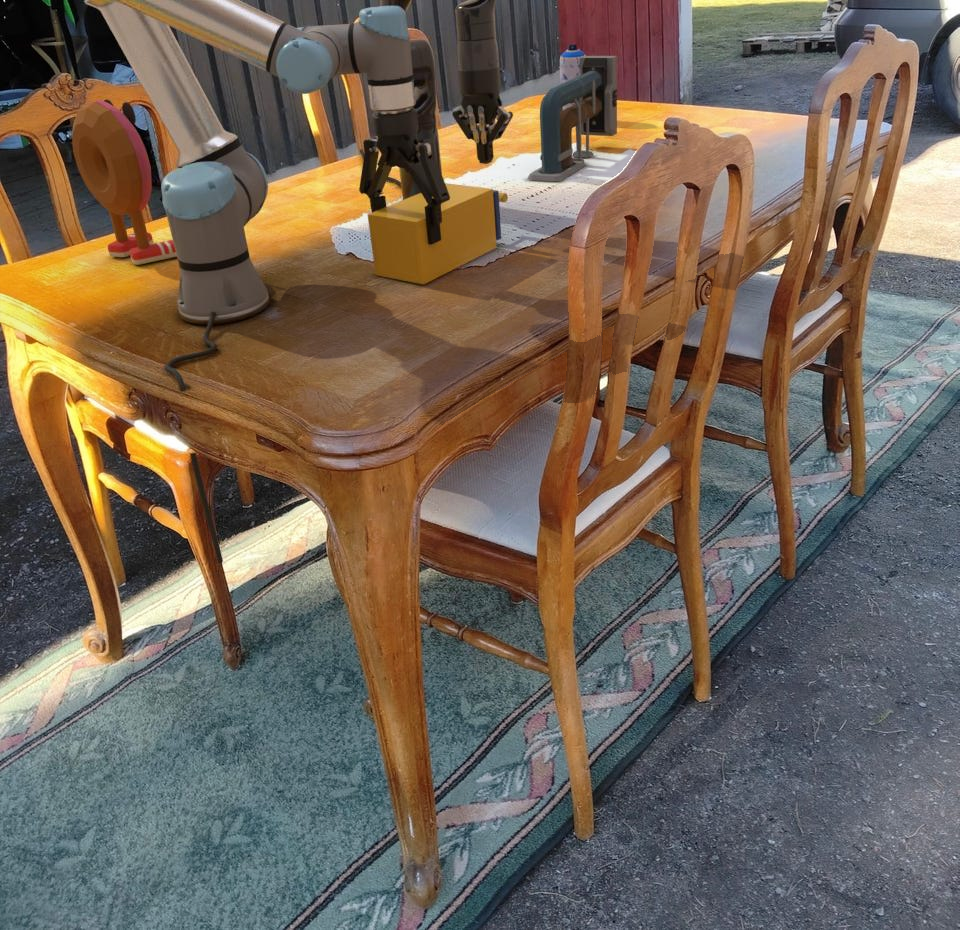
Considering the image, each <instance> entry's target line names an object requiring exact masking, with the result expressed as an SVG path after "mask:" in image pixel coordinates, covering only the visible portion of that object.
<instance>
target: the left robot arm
mask: <svg viewBox="0 0 960 930" xmlns="http://www.w3.org/2000/svg"><path fill="white" fill-rule="evenodd" d="M83 2H84V3H85V5H88V6H90V7H93V8H95V9H97V10H98V11H99V12H100V13H101V14H102V16H103V18H104V20H105V22H106V23H107V26H108V27H109V30H110V31H111V32H112V34H113V36H114V37H115V40H116V41H117V43H118V46H119V47H120V48H121V50H122V52H123V54H124V57H126V59H127V61H128V63H129V65H130V67H131V68H132V70H133V72H134V74H135V75H136V77H137V79H138V81H139V82H140V84H141V86H142V89H143V90H144V92H145V94H146V95H147V97H148V99H149V101H150V102H151V104H152V106H153V108H154V110H155V112H156V113H157V115H158V117H159V119H160V120H161V122H162V124H163V126H164V128H165V129H166V131H167V133H168V135H169V137H170V138H171V141H172V142H173V144H174V146H175V147H176V149H177V151H178V156H177V160H176V164H175V165H176V168H175V169H173V170H171V171H170V172H169V173H167V174H166V175H165V176H164V177H163V179H162V181H161V183H160V186H161V187H160V189H161V195H162V197H161V198H162V205H163V208H164V210H165V214H166V219H167V223H168V226H169V230H170V231H169V232H170V234H171V238H172V239H171V240H173V243H174V247H175V251H176V255H177V257H176V258H177V262H178V266H179V283H178V294H177V310H178V314H179V318H180V319H182V320H183V321H184V322H186V323H189V324H193V325H202V326H203V325H204V326H205V325H206V328H205V331H204V334H203V342H204V343H205V345H206V346H208V347H209V348H208V349H207V348H206V349H205V350H202V351H201V350H200V351H197V352H192V353H189V354H184V355H183V354H182V355H180V356H177V357H174V358H172V359H170V360H169V361H168V362H166V364H165V365H164V370H165V372H167V373H169V374H171V375H173V376H174V377H175V378H176V379H175V380H177V383H178V388H179V391H180V392H185V391H186V385H185V381H184V379H183V377H182V375H181V373H180V372H179V371H178V370H176V368H173V366H174V365H175V364H178V363H182V362H184V361H189V360H193V359H198V358H202V357H206V356H209V355H211V354H213V353H214V352H216V350H217V348H218V347H217V344H216V343H215V342H214V341H211V340H210V339H209V338H210V334H211V332H212V329H213V326H214V325H222V324H230V323H233V322H239V321H241V320H245V319H248V318H251V317H253V316H256V315H258V314H260V312H263V311H264V310H265V309H266V308H267V307H268V306H269V305H270V296H269V292H268V290H267V287H266V284H265V283H264V282H263V280H262V278H261V276H260V274H259V272H258V270H257V269H256V267H255V265H254V264H253V262H252V260H251V257H250V251H249V246H248V241H247V236H246V232H245V226H247V224H248V223H250V221H251V220H252V219H253V218H255V217H256V216H257V215H258V214H259V212H260V211H261V209H262V208H263V206H264V204H265V203H266V199H267V196H268V192H269V181H268V176H267V173H266V170H265V168H264V166H263V165H262V164H261V162H260V160H258V159H257V158H256V157H255V156H254V155H253V154H252V153H249V152H247V151H246V150H245V148H244V146H243V144H242V143H241V140H240V139H239V137H238V136H237V134H235V133H232V132H229V131H227V130H225V129H224V127H223V125H222V124H221V122H220V120H219V118H218V116H217V114H216V113H215V110H214V109H213V106H212V104H211V103H210V101H209V99H208V97H207V96H206V94H205V91H204V89H203V88H202V86H201V83H200V81H199V79H198V78H197V76H196V75H195V72H194V71H193V69H192V67H191V65H190V63H189V61H188V59H187V57H186V56H185V53H184V52H183V49H182V48H181V46H180V44H179V42H178V40H177V39H176V37H175V34H174V32H173V31H172V29H171V28H173V29H175V30H177V31H180V32H181V33H184V34H186V35H188V36H190V37H192V38H194V39H197V40H199V41H201V42H203V43H205V44H207V45H209V46H211V47H214V48H216V49H217V50H220V51H222V52H224V53H226V54H229V55H231V56H233V57H235V58H237V59H239V60H241V61H244V62H246V63H248V64H250V65H252V66H254V67H256V68H258V69H261V70H263V71H264V72H267V73H269V74H271V75H273V76H275V77H276V78H278V79H279V80H280V81H281V83H282V84H283V85H284V86H285V87H286V88H287V89H288V90H289V91H291V92H293V93H296V94H298V95H299V94H300V95H307V94H311V93H314V92H317V91H320V90H321V89H323V88H324V87H325V86H326V85H328V83H329V81H330V80H332V79H333V78H335V76H343V75H355V74H356V75H358V74H359V75H360V74H364V73H365V74H366V78H367V86H368V96H369V105H370V109H371V110H372V111H373V112H372V114H371V118H372V119H371V120H372V121H371V122H372V128H373V134H374V135H375V136H373V137H369V138H366V139H364V140H363V144H362V145H363V152H364V160H363V159H362V168H361V175H360V181H359V186H358V187H359V188H358V191H359V193H360V194H362V195H363V194H364V195H366V196H367V198H368V199H369V202H370V213H372V212H375V211H377V210H380V209H382V208H384V207H387V199H386V195H383V194H384V193H385V192H384V191H383V190H384V189H385V186H386V183H387V182H388V180H387V178H388V177H390V174H391V170H392V169H393V168H394V167H398V169H399V168H404V169H405V170H406V172H408V173H410V175H411V177H412V178H413V180H414V182H415V183H416V185H417V187H418V188H419V190H420V192H421V193H422V195H423V197H424V198H425V200H426V202H427V203H428V205H427V206H425V217H426V226H427V236H428V244H431V245H432V244H434V243H436V242H438V241H441V231H440V223H442V213H441V204H442V203H444V202H446V201H448V200H450V195H449V193H448V190H447V187H446V185H445V183H446V182H445V180H444V177H443V173H442V174H441V171H440V169H439V166H438V163H437V161H436V158H435V153H434V145H433V143H432V142H429V143H426V144H422V143H419V142H418V140H417V131H418V118H417V110H415V108H413V106H414V105H415V104H416V101H415V92H414V82H413V72H412V60H411V49H410V40H411V36H410V34H409V27H408V21H407V13H406V14H405V11H404V10H403V9H402V8H401V7H399V6H380V5H379V6H370V7H366V8H362V9H361V10H360V11H359V14H358V15H359V16H358V18H359V19H358V21H356V22H351V23H343V24H341V23H340V24H326V25H311V24H310V25H306V26H301V27H300V26H299V27H295V26H293V25H290V24H288V23H286V22H284V21H283V20H281V19H279V18H277V17H274V16H272V15H270V14H268V13H266V12H265V11H263V10H260V9H258V8H256V7H254V6H252V5H249V4H248V3H246V2H243V1H241V0H83ZM417 153H418V154H417ZM379 154H380V157H379ZM413 162H414V163H415V164H413ZM432 197H433V198H432ZM189 455H190V459H191V460H190V461H191V464H192V468H193V472H194V477H195V480H196V485H197V488H198V492H199V496H200V499H201V503H202V507H203V511H204V514H205V518H206V522H207V525H208V526H207V527H208V529H209V533H210V537H211V540H212V545H213V548H214V551H215V556H216V560H217V563H218V564H223V562H224V560H223V555H222V552H221V547H220V543H219V540H218V535H217V532H216V528H215V525H214V521H213V517H212V512H211V510H210V506H209V501H208V497H207V494H206V490H205V487H204V486H205V485H204V482H203V479H202V475H201V470H200V467H199V462H198V457H197V453H196V452H191V453H189Z"/></svg>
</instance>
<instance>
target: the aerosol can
mask: <svg viewBox="0 0 960 930" xmlns="http://www.w3.org/2000/svg"><path fill="white" fill-rule="evenodd" d="M583 56H587V55H586V54H585V52H584V51H583V50H581V49H579V48H578V44H577V43H574V44H568V48H567V49H566V50H565V51H563V52H562V53H561V55H560V56H559V79H560V81H559V83H560V84H559V85H561V84H563V83H565V82H567V81H569V80H572V79H574V78H576V77H578V76H580V58H581V57H583ZM573 105H575V103H569V104H567V105H565V106H563V110H565V109H567V108H569V107H571V106H573Z"/></svg>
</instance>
